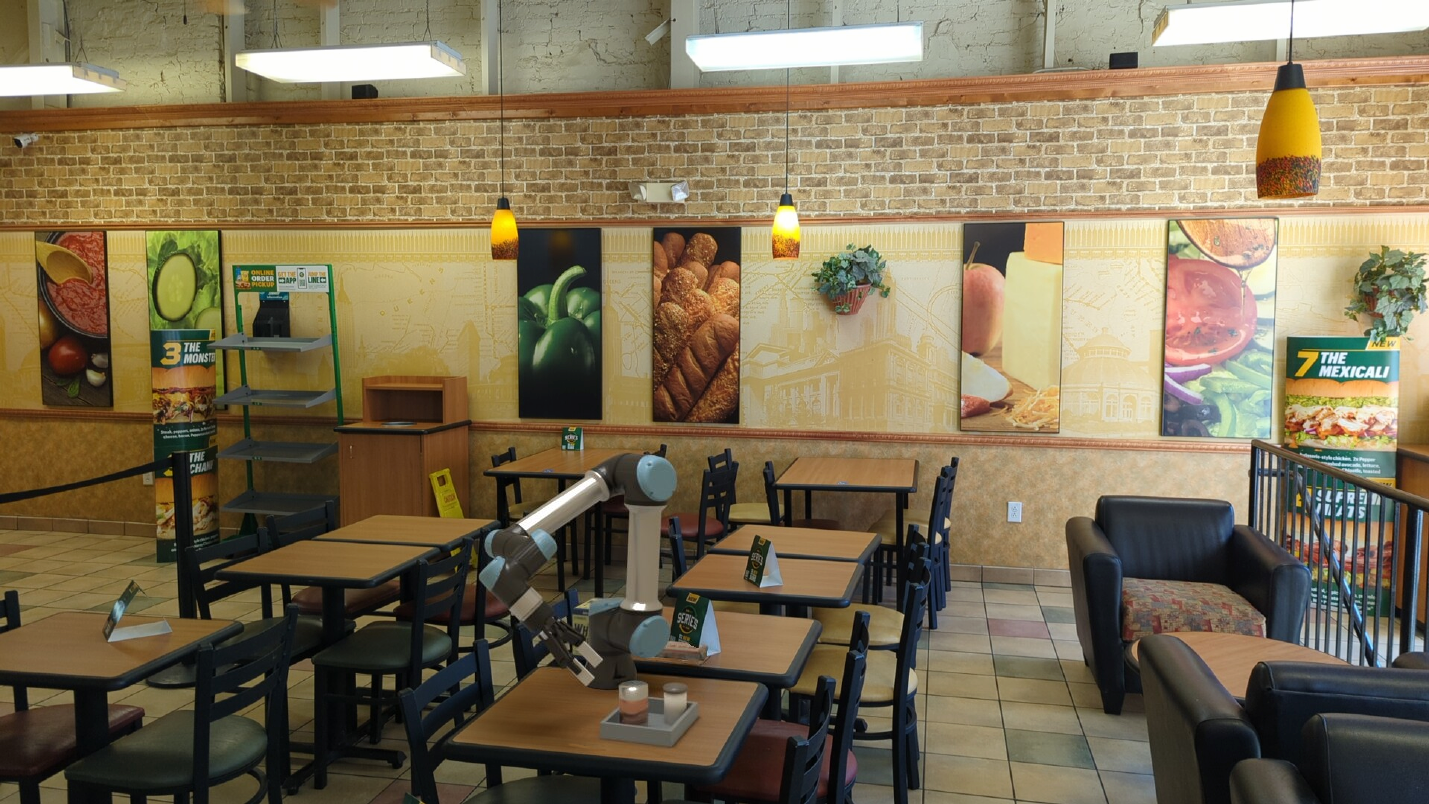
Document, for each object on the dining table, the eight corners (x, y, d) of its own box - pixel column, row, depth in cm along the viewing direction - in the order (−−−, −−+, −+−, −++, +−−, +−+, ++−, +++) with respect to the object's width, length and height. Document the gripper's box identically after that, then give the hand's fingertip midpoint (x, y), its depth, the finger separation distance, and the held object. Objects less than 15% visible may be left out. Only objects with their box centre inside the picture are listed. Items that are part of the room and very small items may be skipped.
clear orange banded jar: (615, 734, 237) (614, 689, 236) (625, 723, 244) (625, 679, 243) (642, 737, 235) (641, 691, 234) (652, 726, 242) (652, 682, 241)
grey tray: (600, 741, 234) (599, 722, 234) (631, 712, 254) (631, 695, 253) (671, 750, 229) (671, 731, 229) (698, 720, 248) (698, 702, 248)
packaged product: (711, 642, 300) (700, 651, 291) (711, 657, 301) (700, 667, 291) (656, 636, 306) (644, 645, 297) (656, 651, 306) (644, 661, 297)
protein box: (571, 659, 297) (571, 608, 297) (595, 645, 312) (595, 596, 311) (603, 663, 294) (602, 611, 293) (625, 648, 308) (625, 599, 308)
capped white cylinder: (660, 724, 243) (660, 692, 243) (668, 716, 249) (668, 684, 248) (682, 726, 242) (682, 694, 241) (689, 718, 247) (689, 687, 247)
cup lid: (658, 690, 244) (658, 687, 244) (672, 684, 249) (672, 681, 249) (677, 695, 241) (677, 692, 241) (692, 688, 246) (692, 685, 246)
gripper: (532, 608, 251) (591, 666, 252) (509, 636, 226) (575, 701, 227) (553, 587, 251) (612, 646, 251) (532, 613, 226) (597, 679, 226)
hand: (594, 672), depth 239 cm, fingers open, 13 cm apart
